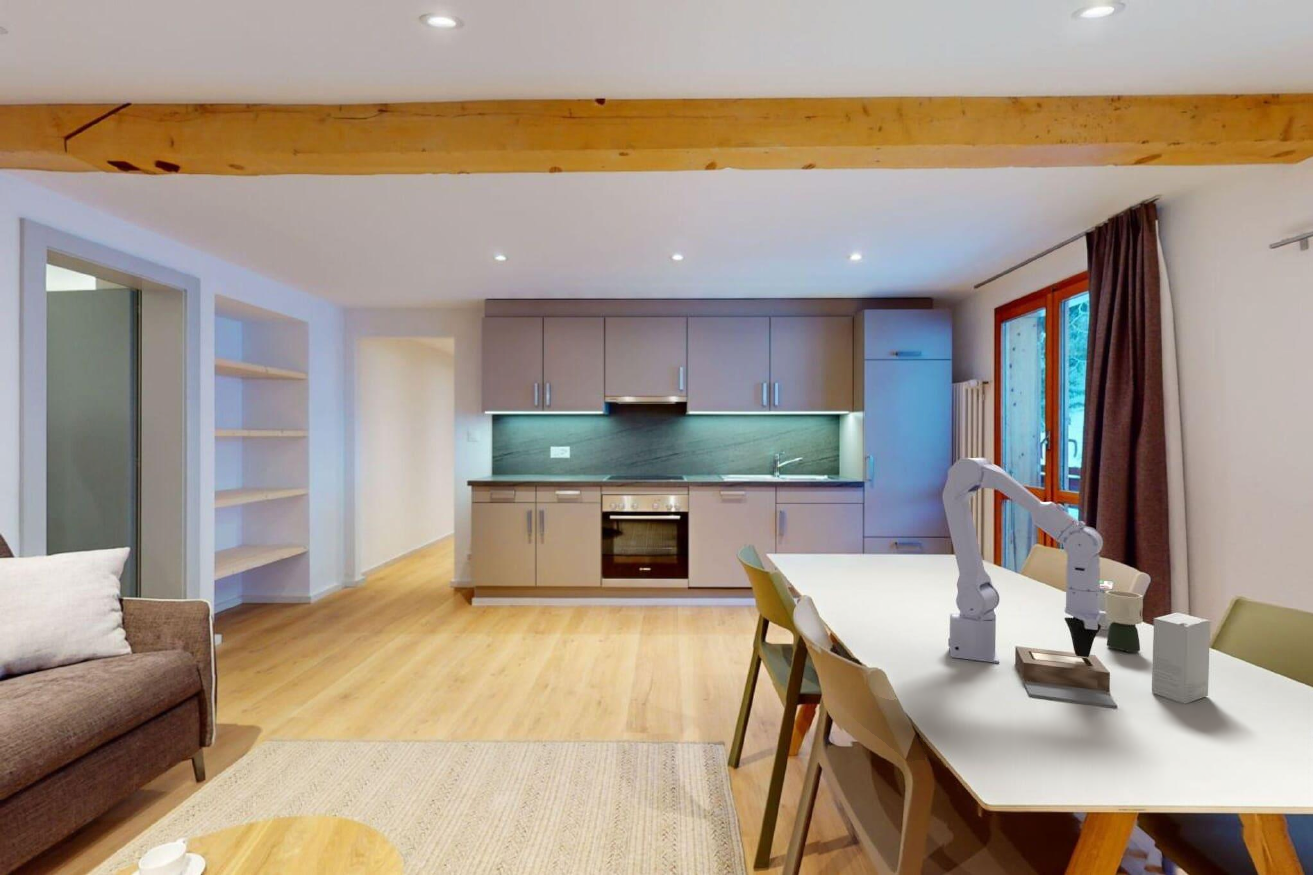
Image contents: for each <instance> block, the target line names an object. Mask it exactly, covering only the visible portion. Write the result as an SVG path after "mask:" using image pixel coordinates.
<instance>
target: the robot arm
mask: <svg viewBox="0 0 1313 875" xmlns="http://www.w3.org/2000/svg"><path fill="white" fill-rule="evenodd" d="M981 488H983V489H992V490H996V491H999V492H1000V493H1002V494H1003V495H1004V496H1006V497H1008V498H1009V499H1010V500H1012V501H1013V502H1014V503H1016V504H1017V505H1018V506H1020V507H1021V508H1023V509H1024V510H1026V511H1027V512H1029V513H1030V515H1031V521H1032V523H1033V524H1034V525H1035V526H1037V527H1038V528H1040V529H1041V530H1042V531H1043V532H1044V533H1046V534H1047V535H1049V536H1050V537H1051V538H1052V539H1054V540H1055V541H1056V542H1057V543H1059V544H1060V543H1061V544H1062V547H1063V550H1064V552H1065V553H1066V554H1067V555H1066V556H1067V557H1066V558H1067V559H1066V562H1067V563H1066V566H1065V567H1066V568H1065V569H1066V571H1065V572H1066V576H1065V578H1066V579H1065V585H1066V586H1065V607H1064V613H1065V614H1067V615H1069V616H1071V617H1064V621H1065V623H1066V625H1067V627H1068V629H1069V634H1070V637H1071V642H1072V645H1073V646H1072V648H1073V651H1074V653H1075V654H1076V656H1080V657H1089V655H1091V651H1092V647H1093V643H1094V640H1095V638H1096V636H1097V635H1098V633H1099V631H1101V630H1102V629H1101V625H1100V624H1098V619H1099V618H1100V617H1101V616H1103V617H1106V616H1107V613H1106V612H1105V611H1100V581H1101V566H1100V563H1101V562H1100V554H1099V553H1100V552H1101V551H1102V549H1103V546H1104V540H1103V538H1102V536H1101V534H1100V533H1099V532H1098V531H1097V530H1096V529H1095V528H1094V527H1091V526H1086V522H1084V521H1082V520H1080V521H1079V520H1078V519H1077V518H1075V517H1073V516H1072V515H1071V514H1069V513H1068V512H1067V511H1065V506H1064V505H1063V504H1061V503H1057V504H1056V503H1055V502H1053V501H1045V502H1044V501H1042V500H1041V499H1040V498H1038V497H1037V496H1036V495H1034V494H1033V492H1031V491H1029V490H1028V489H1027V488H1026V487H1025V486H1024V485H1022V484H1021V483H1020V482H1019V481H1017V480H1016V479H1015V478H1014V477H1012V476H1011V475H1010V474H1009V473H1007V472H1006V471H1005V470H1004V469H1003V468H1002V467H1000V466H998V465H996V463H995V464H993V463H992V461H990V460H989V459H988V458H985V457H981V456H980V457H975V458H974V457H973V458H970V457H963V458H960V459H958V460H957V461H955V462H954V464H953V465H951V467H950V468H949V469H948V470H947V479H946V483H945V486H944V488H943V492H942V494H941V496H942V502H943V506H944V511H945V515H946V516H945V517H946V521H947V525H948V529H949V534H950V538H951V543H952V548H953V551H954V556H955V561H956V564H957V568H958V573H959V574H958V578H957V582H956V587H957V588H956V589H957V594H956V599H955V603H956V606H957V608H958V610H959V613H950V615H949V637H948V640H947V641H948V642H947V644H948V649H949V652H950V658H954V659H955V658H957V659H961V660H962V659H963V660H970V661H971V660H972V661H979V662H989V663H995V664H996V663H1000V659H999V657H998V654H997V651H996V638H997V637H996V628H997V627H996V626H997V624H996V621H997V615H996V613H995V611H994V610H995V609H996V608H997V607H998V606H999V603H1000V599H1001V598H1000V595H999V594H1000V593H999V591H998V590H997V589H996V588H995V586H994V585H993V583H992V579H991V576H990V575H989V574H988V573H987V571H986V570H985V567H984V561H983V557H982V554H981V549H980V545H979V540H978V537H977V532H976V528H975V523H974V520H973V519H974V518H973V515H972V514H973V513H972V511H971V506H970V500H971V499H972V497H973V496H974V495H975V494H976V493H977V491H978V490H980V489H981Z"/></svg>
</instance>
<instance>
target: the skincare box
mask: <svg viewBox="0 0 1313 875" xmlns="http://www.w3.org/2000/svg"><path fill="white" fill-rule="evenodd" d="M1210 635H1211V621H1210V620H1208V619H1204V618H1201V617H1198V616H1197V617H1196V616H1193V615H1189V614H1186V613H1185V614H1184V613H1181V612H1172V613H1170V614H1166V615H1162V616H1158V617H1153V641H1152V668H1151V670H1152V671H1151V693H1152V694H1155V695H1158V696H1161V697H1163V698H1166V699H1170V700H1173V701H1175V702H1178V703H1181V704H1184V705H1186V704H1189V703H1191V702H1194V701H1197V700H1199V699H1203V698H1205V697H1208V696H1209V678H1210V677H1209V676H1210V675H1209V673H1210V671H1209V669H1210V637H1211V636H1210Z"/></svg>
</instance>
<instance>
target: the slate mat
mask: <svg viewBox="0 0 1313 875" xmlns="http://www.w3.org/2000/svg"><path fill="white" fill-rule="evenodd" d="M1022 681H1023V680H1022ZM1022 684H1023V685H1024V689H1025V690H1026V692H1027V694H1028V696H1029V697H1031V698H1038V699H1045V700H1051V701H1059V702H1068V703H1075V704H1081V705H1088V706H1089V705H1090V706H1097V707H1105V708H1110V709H1111V708H1112V709H1118V704H1117V703H1116V701H1114V699H1113V698H1112V696H1111V695H1110V694H1109V692H1107V691H1100V690H1092V689H1084V688H1076V687H1069V686H1061V685H1053V684H1045V683H1037V682H1030V681H1023V683H1022Z"/></svg>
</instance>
